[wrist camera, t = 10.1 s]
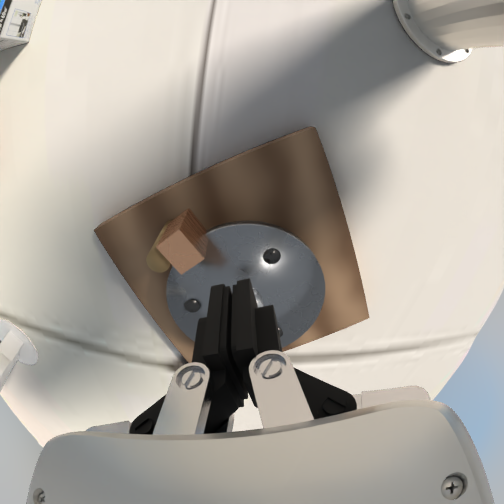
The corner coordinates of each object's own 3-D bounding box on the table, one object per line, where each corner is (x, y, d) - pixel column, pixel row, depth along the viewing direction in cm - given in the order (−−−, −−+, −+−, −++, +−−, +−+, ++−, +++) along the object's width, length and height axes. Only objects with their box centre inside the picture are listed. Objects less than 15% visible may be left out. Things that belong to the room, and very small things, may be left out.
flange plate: (345, 304, 31) (360, 333, 27) (230, 366, 34) (231, 397, 30) (252, 163, 24) (256, 174, 19) (121, 261, 27) (103, 289, 23)
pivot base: (310, 126, 27) (341, 132, 19) (364, 308, 37) (389, 354, 29) (100, 223, 30) (63, 261, 22) (201, 366, 41) (197, 415, 33)
